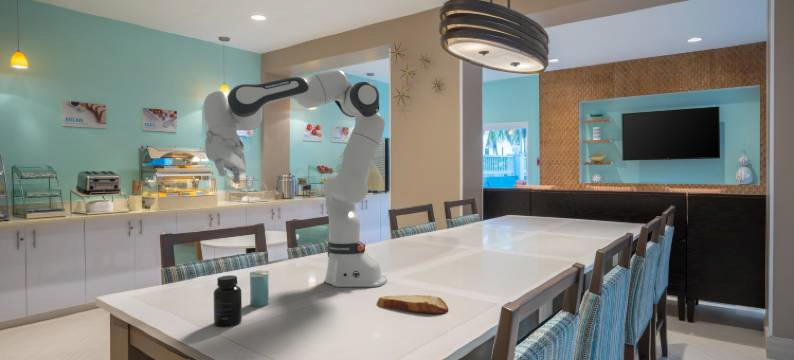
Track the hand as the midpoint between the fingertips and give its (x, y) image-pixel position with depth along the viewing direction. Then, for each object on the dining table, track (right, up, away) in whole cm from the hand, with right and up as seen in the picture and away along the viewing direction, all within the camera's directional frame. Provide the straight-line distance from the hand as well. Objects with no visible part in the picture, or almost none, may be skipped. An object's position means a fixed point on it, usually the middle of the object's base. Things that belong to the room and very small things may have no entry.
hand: (230, 179), depth 142 cm
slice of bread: (+57, -38, -10) cm, 69 cm away
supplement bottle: (+8, -38, -24) cm, 45 cm away
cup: (+11, -37, -7) cm, 40 cm away
